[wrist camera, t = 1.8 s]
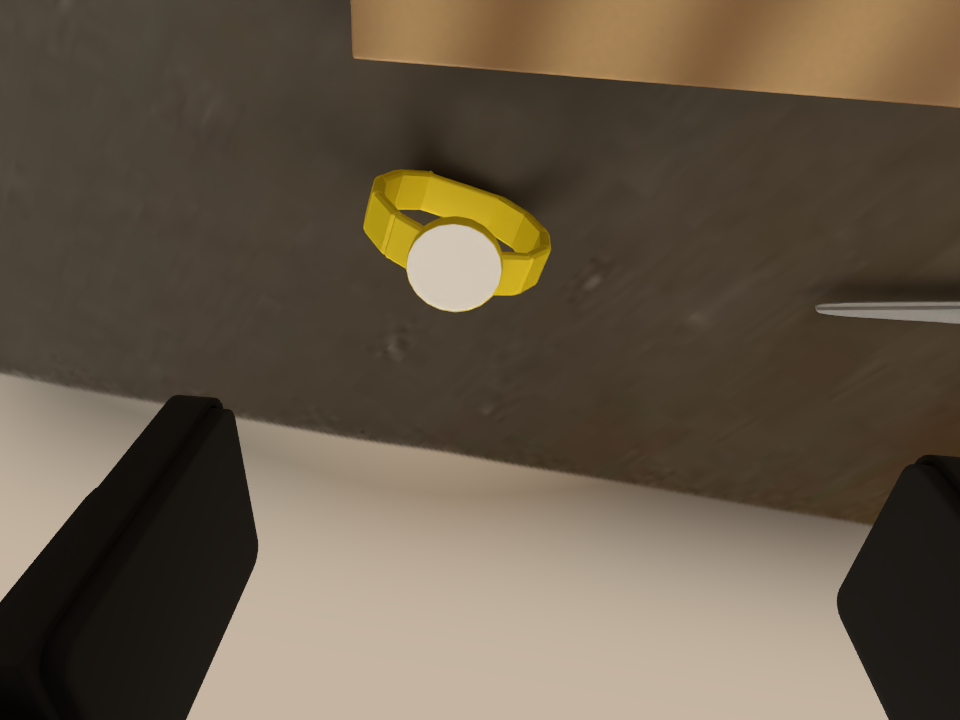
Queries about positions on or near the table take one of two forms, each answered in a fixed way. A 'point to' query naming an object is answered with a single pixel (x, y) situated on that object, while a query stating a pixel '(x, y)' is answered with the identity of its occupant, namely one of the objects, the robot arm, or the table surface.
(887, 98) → the desk stand
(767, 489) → the table surface
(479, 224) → the watch
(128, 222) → the table surface
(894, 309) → the scissors
